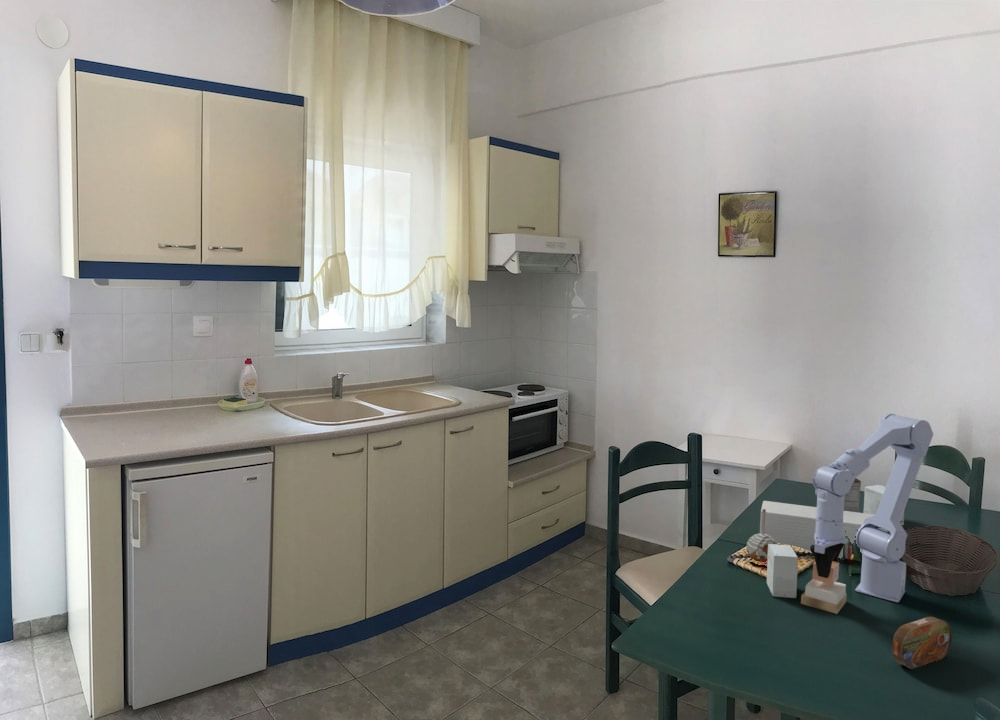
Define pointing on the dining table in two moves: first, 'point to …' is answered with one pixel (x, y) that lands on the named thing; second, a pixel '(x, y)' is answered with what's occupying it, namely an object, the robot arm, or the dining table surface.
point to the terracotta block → (832, 576)
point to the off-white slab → (825, 591)
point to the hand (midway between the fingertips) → (826, 573)
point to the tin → (922, 642)
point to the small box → (782, 570)
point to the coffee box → (853, 497)
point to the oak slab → (823, 603)
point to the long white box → (803, 524)
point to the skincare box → (875, 500)
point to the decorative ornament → (760, 543)
